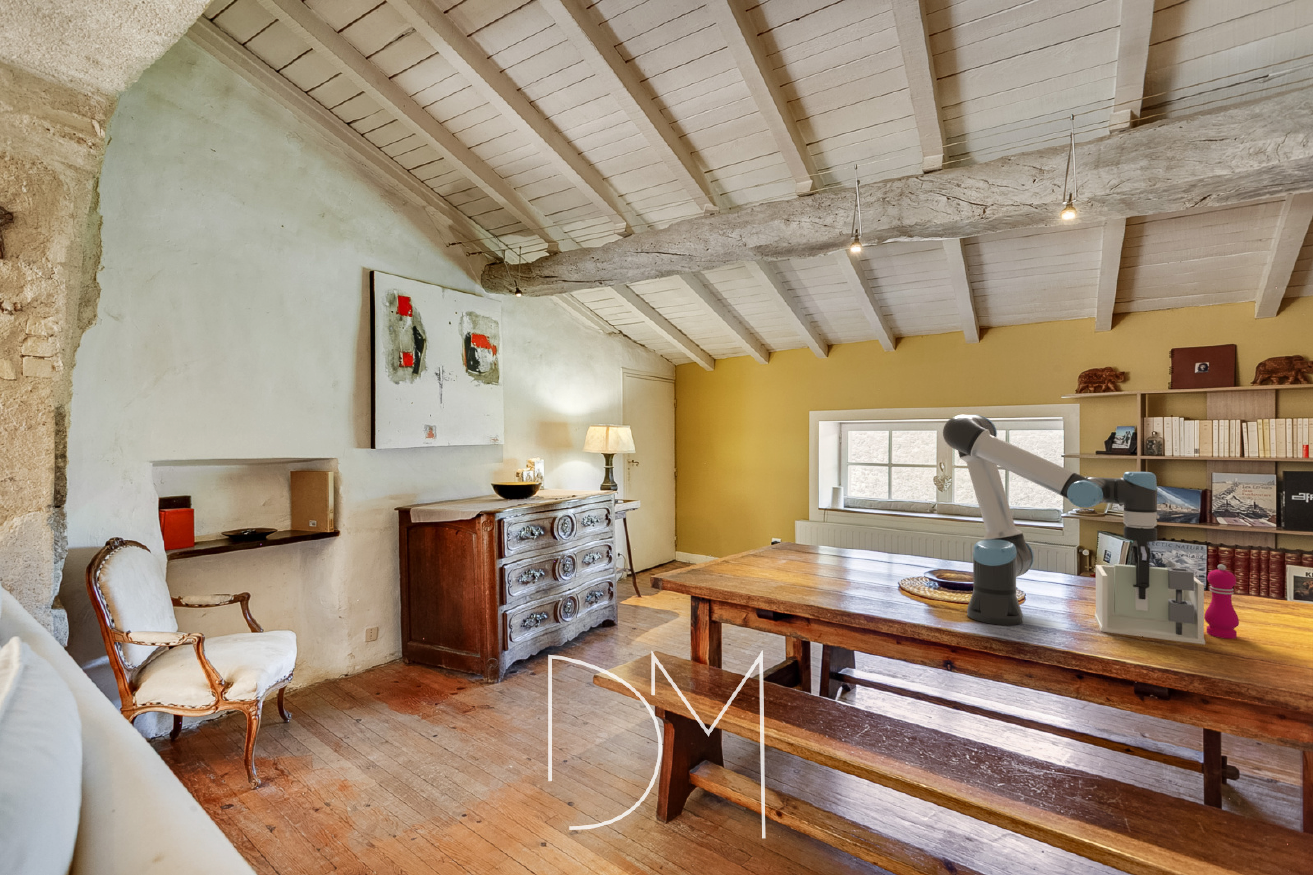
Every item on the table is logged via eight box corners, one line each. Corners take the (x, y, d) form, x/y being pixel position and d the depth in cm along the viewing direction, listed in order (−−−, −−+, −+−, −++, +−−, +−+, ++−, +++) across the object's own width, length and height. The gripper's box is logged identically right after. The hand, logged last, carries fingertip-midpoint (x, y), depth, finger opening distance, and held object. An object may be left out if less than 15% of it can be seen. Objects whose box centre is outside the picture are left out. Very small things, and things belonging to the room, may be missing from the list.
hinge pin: (1176, 634, 173) (1176, 574, 172) (1175, 632, 174) (1175, 573, 174) (1182, 635, 172) (1182, 574, 172) (1181, 633, 173) (1181, 573, 173)
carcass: (1101, 631, 179) (1101, 575, 179) (1094, 616, 193) (1094, 564, 193) (1205, 644, 168) (1205, 584, 168) (1190, 627, 182) (1190, 572, 182)
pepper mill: (1245, 640, 171) (1246, 567, 171) (1215, 638, 173) (1215, 566, 172) (1227, 631, 178) (1227, 562, 178) (1198, 630, 180) (1198, 561, 179)
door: (1115, 615, 178) (1115, 566, 178) (1113, 610, 182) (1113, 563, 182) (1194, 624, 169) (1193, 572, 169) (1189, 618, 174) (1189, 568, 174)
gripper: (1162, 531, 168) (1162, 617, 169) (1151, 523, 182) (1151, 603, 182) (1128, 529, 172) (1128, 613, 172) (1119, 521, 185) (1119, 600, 186)
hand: (1140, 608), depth 177 cm, fingers closed on door, 2 cm apart
